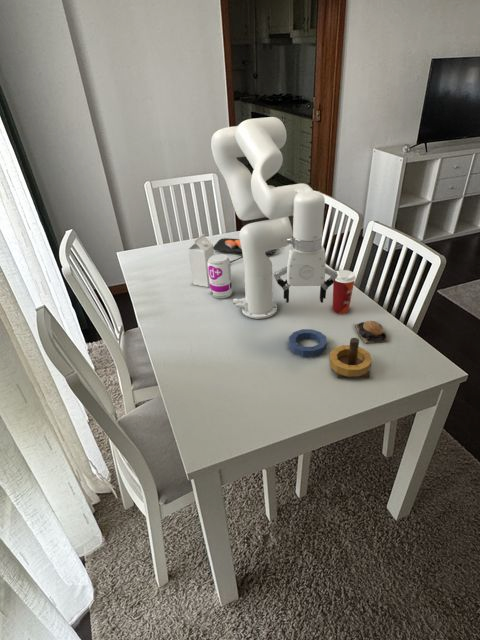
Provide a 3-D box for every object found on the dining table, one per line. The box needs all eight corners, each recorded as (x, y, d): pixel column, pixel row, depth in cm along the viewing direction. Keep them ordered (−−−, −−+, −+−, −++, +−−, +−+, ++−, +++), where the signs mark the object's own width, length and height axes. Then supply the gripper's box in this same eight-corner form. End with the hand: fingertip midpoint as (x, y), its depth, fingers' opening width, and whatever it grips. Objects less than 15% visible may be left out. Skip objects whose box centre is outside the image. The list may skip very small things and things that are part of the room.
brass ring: (332, 376, 114) (333, 369, 112) (327, 352, 123) (327, 345, 122) (374, 376, 114) (375, 369, 112) (365, 351, 123) (367, 344, 122)
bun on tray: (353, 326, 137) (354, 316, 135) (377, 324, 138) (379, 314, 136) (363, 344, 129) (365, 334, 127) (389, 341, 129) (391, 332, 127)
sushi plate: (279, 245, 195) (279, 237, 192) (265, 272, 171) (265, 264, 169) (221, 241, 200) (220, 233, 198) (199, 267, 177) (198, 259, 175)
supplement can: (224, 301, 152) (220, 264, 144) (206, 296, 156) (202, 259, 147) (236, 292, 158) (234, 255, 149) (219, 287, 162) (216, 251, 153)
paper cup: (351, 316, 142) (355, 280, 134) (329, 314, 143) (332, 278, 135) (351, 305, 148) (356, 269, 140) (330, 303, 149) (333, 268, 141)
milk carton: (192, 284, 164) (186, 239, 153) (201, 277, 169) (196, 232, 158) (208, 287, 162) (203, 241, 150) (216, 279, 167) (212, 234, 156)
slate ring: (289, 357, 124) (289, 350, 123) (288, 335, 133) (288, 329, 132) (327, 357, 124) (328, 350, 122) (324, 335, 133) (325, 329, 131)
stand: (337, 378, 116) (340, 349, 110) (333, 358, 123) (336, 331, 117) (369, 378, 115) (374, 349, 110) (363, 358, 123) (368, 331, 117)
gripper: (273, 248, 103) (273, 307, 113) (342, 248, 102) (336, 307, 113) (273, 237, 109) (273, 294, 119) (338, 237, 108) (333, 293, 119)
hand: (304, 300), depth 116 cm, fingers open, 9 cm apart
